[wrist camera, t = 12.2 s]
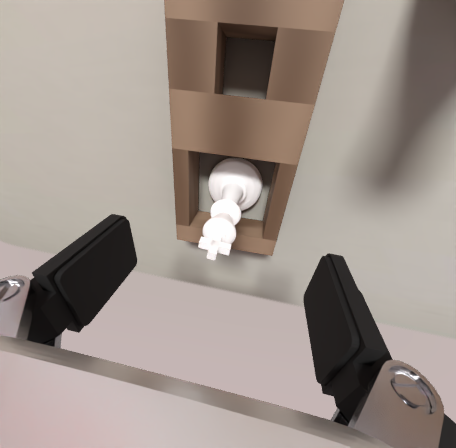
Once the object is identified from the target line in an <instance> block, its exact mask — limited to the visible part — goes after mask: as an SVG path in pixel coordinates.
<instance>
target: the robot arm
mask: <svg viewBox="0 0 456 448" xmlns="http://www.w3.org/2000/svg"><path fill="white" fill-rule="evenodd" d="M136 264H137V257H136V252H135V247H134V242H133V237H132V233H131V228H130V223H129V221H128V220H127V219H126V217H124V216H120V215H115V214H112V215H110V216H108V217H107V218H106V219H104V220H103V221H102V222H100V223H99V224H97V225H96V226H95V227H93V228H92V229H91V230H89V231H88V232H87V233H85V234H84V235H83V236H81V237H80V238H78V239H77V240H76V241H74V242H73V243H72V244H70V245H69V246H68V247H66V248H65V249H63V250H62V251H61V252H59V253H58V254H57V255H55V256H54V257H53V258H51V259H50V260H48V261H47V262H46V263H44V264H43V265H42V266H40V267H39V268H38V269H36V270H35V271H34V272H32V274H33V276H34V278H33V279H32V280H30V279H29V278H27V277H25V276H17V275H16V276H10V277H6V278H3V279H0V448H456V424H455V423H454V422H453V421H452V420H451V419H450V418H449V417H448V416H446V415H445V414H444V406H443V404H442V401H441V398H440V396H439V394H438V393H437V391H436V390H435V388H434V387H433V386H432V384H431V383H430V382H429V381H428V380H427V379H426V378H425V377H424V376H423V375H422V374H421V373H420V372H419V371H418V370H416V369H415V368H413V367H411V366H410V365H408V364H406V363H404V362H401V361H398V360H392V358H391V355H390V353H389V351H388V349H387V347H386V345H385V343H384V340H383V338H382V336H381V334H380V332H379V330H378V327H377V325H376V323H375V321H374V319H373V317H372V314H371V312H370V310H369V308H368V306H367V304H366V302H365V299H364V297H363V295H362V293H361V292H360V291H359V290H358V288H357V286H356V284H355V282H354V279H353V277H352V275H351V273H350V271H349V268H348V266H347V264H346V262H345V260H344V258H343V256H339V255H334V254H327V255H326V256H322V258H321V260H320V262H319V264H318V266H317V268H316V270H315V272H314V275H313V277H312V279H311V281H310V283H309V285H308V287H307V290H306V292H305V294H304V307H305V313H306V319H307V325H308V331H309V337H310V343H311V350H312V356H313V362H314V367H315V374H316V379H317V382H318V383H320V384H321V386H322V391H323V394H327V395H331V396H334V398H335V403H336V406H337V410H336V412H335V414H334V415H333V417H332V419H331V421H330V420H327V419H324V418H320V417H317V416H313V415H310V414H306V413H303V412H299V411H296V410H292V409H289V408H285V407H282V406H279V405H275V404H271V403H267V402H264V401H260V400H256V399H252V398H249V397H245V396H241V395H237V394H234V393H230V392H226V391H222V390H218V389H215V388H211V387H207V386H203V385H199V384H196V383H192V382H188V381H184V380H181V379H176V378H173V377H169V376H165V375H162V374H158V373H154V372H150V371H146V370H142V369H138V368H134V367H131V366H127V365H123V364H119V363H115V362H111V361H107V360H104V359H99V358H96V357H92V356H88V355H84V354H80V353H76V352H72V351H68V350H64V349H61V348H60V347H61V335H62V332H63V331H64V330H65V329H66V328H67V329H68V330H71V331H75V332H80V331H81V329H82V328H83V327H84V326H86V325H88V324H89V323H90V322H91V321H92V320H93V319H94V317H95V316H96V315H97V314H98V312H99V311H100V310H101V309H102V307H103V306H104V305H105V303H106V302H107V301H108V300H109V299H110V297H111V296H112V295H113V293H114V292H115V291H116V290H117V289H118V287H119V286H120V285H121V283H122V282H123V281H124V280H125V278H126V277H127V276H128V275H129V273H130V272H131V271H132V270H133V269H134V267H135V266H136Z"/></svg>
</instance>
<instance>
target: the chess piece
mask: <svg viewBox="0 0 456 448" xmlns="http://www.w3.org/2000/svg"><path fill="white" fill-rule="evenodd" d="M208 187H209V192H210V195H211V197H212V198H213V200H214V201H215V203H214V204H213V205H212V207H211V211H210V213H211V219H209V220H208V221H207V222H206V223H205V224H204V226H203V236H204V237H202V236H201V238H200V241H199V246H198V248H202V249H206V250H208V254H207V258H208V259H211V260H215V258H216V255H217V253H221V254H225V255H228V256H229V252H230V249H231V244H232V243H233V242H234V240H235V238H236V229H235V225H236V224H237V223H238V222H239V220H240V218H241V211H242V210H245V209H248V208H249V207H251V206H252V205H254V204H255V203H256V201H257V200H258V198H259V196H260V194H261V191H262V178H261V175H260V173H259V171H258V169H257V168H256V167H255V166H254V165H253V164H252V163H250V162H249V161H247V160H245V159H241V158H228V159H225V160H223V161H221V162H219V163H218V164H217V165H216V166H215V167H214V168H213V170H212V172H211V174H210V177H209V182H208Z"/></svg>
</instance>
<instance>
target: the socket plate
mask: <svg viewBox="0 0 456 448" xmlns="http://www.w3.org/2000/svg"><path fill="white" fill-rule="evenodd" d="M164 3H165V22H166V41H167V59H168V78H169V97H170V116H171V134H172V153H173V172H174V191H175V210H176V228H177V239H178V240H184V241H189V242H195V243H199V241H200V238H201V236H202V237H204V236H203V226H204V224H205V223H206V222H207V221H208V220H209V219H211V213H208V212H202V211H198V203H199V152H204V153H211V154H219V155H226V156H233V157H241V158H248V159H255V160H263V161H270V162H276V163H275V168H274V173H273V177H272V182H271V186H270V191H269V195H268V200H267V204H266V209H265V213H264V218H263V221H259V220H252V219H246V218H240V220H239V222H238V223H237V224H236V225H235V229H236V238H235V240H234V242H233V243H232V244H231V249H236V250H242V251H247V252H253V253H259V254H265V255H271V256H272V255H273V251H274V247H275V244H276V240H277V237H278V233H279V230H280V226H281V223H282V219H283V216H284V212H285V209H286V205H287V201H288V198H289V194H290V191H291V187H292V184H293V180H294V177H295V173H296V170H297V166H298V162H299V159H300V155H301V152H302V148H303V145H304V141H305V138H306V134H307V131H308V127H309V123H310V120H311V116H312V113H313V109H314V106H315V102H316V99H317V95H318V92H319V88H320V85H321V81H322V77H323V74H324V70H325V67H326V63H327V60H328V56H329V53H330V49H331V46H332V42H333V38H334V35H335V31H336V28H337V24H338V21H339V17H340V14H341V10H342V7H343V3H344V0H164ZM226 37H233V38H244V39H256V40H267V41H275V46H274V52H273V58H272V64H271V70H270V76H269V82H268V88H267V94H266V99H258V98H249V97H240V96H231V95H223V82H224V67H225V52H226Z"/></svg>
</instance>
